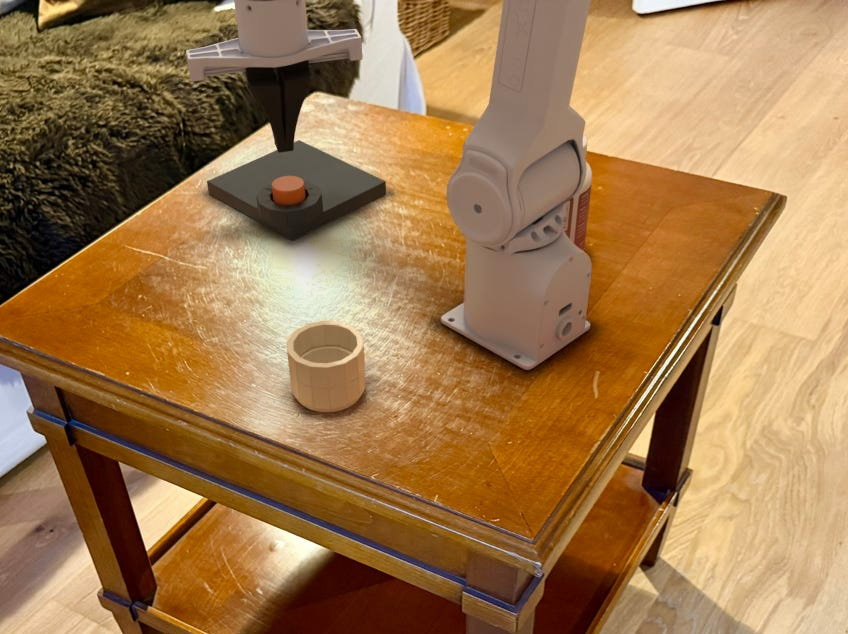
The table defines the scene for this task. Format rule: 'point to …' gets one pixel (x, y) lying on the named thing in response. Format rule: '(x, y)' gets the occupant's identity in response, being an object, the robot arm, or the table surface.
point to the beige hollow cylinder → (326, 365)
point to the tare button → (288, 190)
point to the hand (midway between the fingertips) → (284, 146)
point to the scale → (324, 189)
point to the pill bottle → (579, 209)
